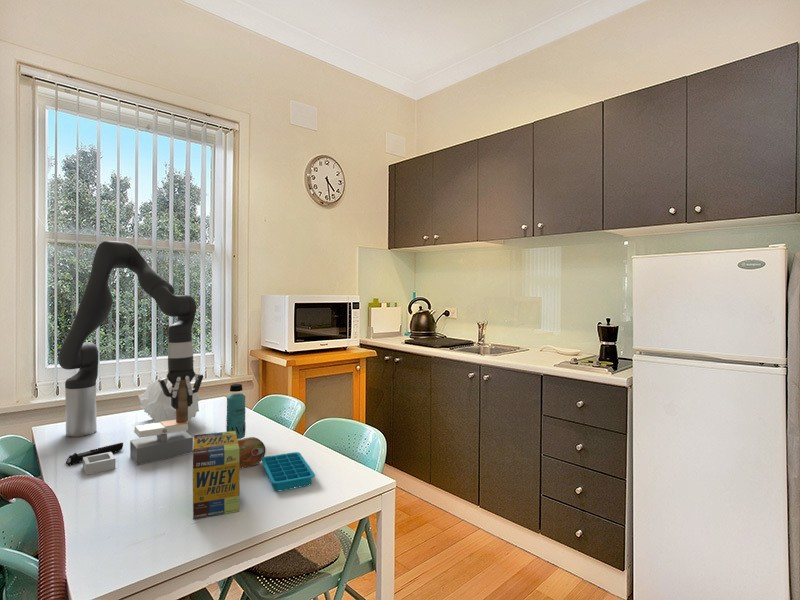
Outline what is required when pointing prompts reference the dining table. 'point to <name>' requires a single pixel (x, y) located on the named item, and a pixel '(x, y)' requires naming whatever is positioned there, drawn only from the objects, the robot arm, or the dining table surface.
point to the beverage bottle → (236, 411)
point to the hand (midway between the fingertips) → (181, 407)
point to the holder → (98, 463)
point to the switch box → (160, 447)
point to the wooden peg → (182, 402)
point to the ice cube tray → (287, 470)
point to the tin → (250, 451)
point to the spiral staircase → (163, 403)
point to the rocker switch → (160, 428)
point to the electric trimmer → (93, 453)
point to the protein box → (215, 474)
